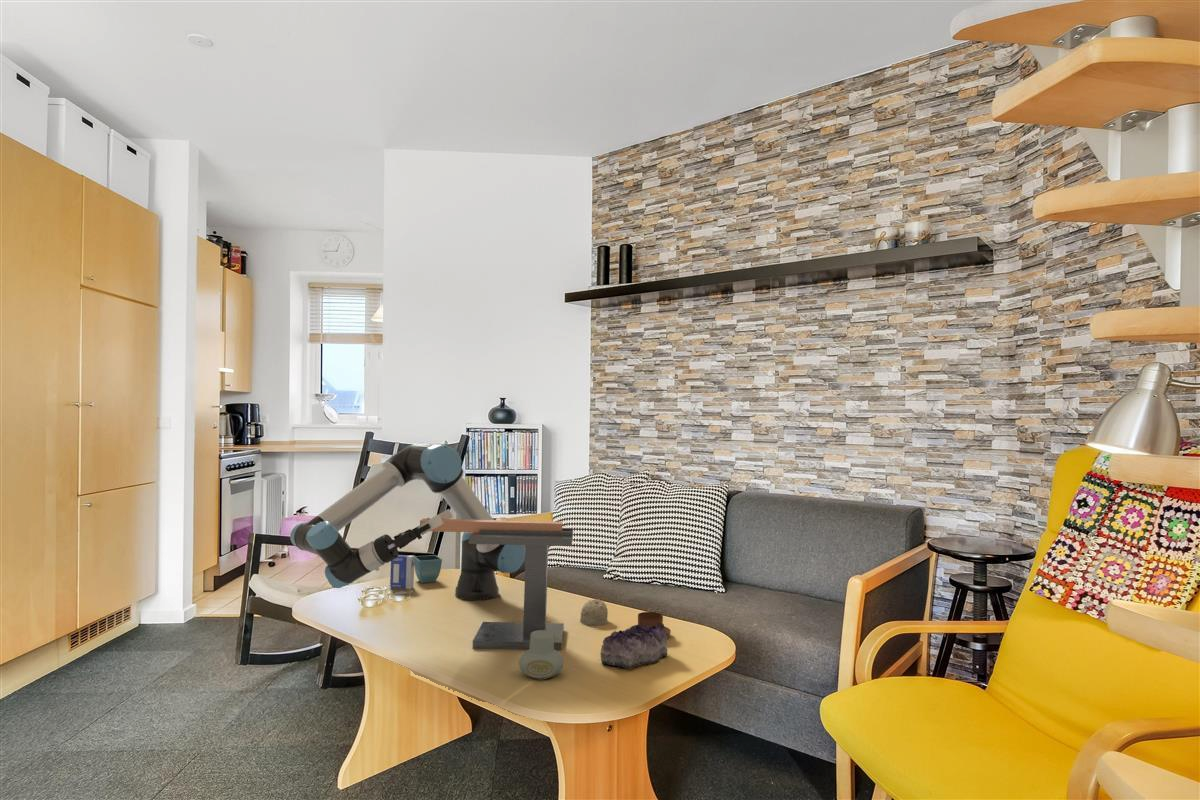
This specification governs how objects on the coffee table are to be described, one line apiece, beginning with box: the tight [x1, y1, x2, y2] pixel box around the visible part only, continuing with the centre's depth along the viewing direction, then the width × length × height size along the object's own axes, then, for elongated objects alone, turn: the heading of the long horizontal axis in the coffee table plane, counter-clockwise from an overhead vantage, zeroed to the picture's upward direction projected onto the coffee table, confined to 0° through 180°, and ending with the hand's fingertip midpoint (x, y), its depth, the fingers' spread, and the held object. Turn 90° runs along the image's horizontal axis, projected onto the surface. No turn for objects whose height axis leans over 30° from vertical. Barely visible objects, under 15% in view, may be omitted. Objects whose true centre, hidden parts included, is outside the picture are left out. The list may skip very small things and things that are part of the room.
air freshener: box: [518, 630, 565, 680], centre depth 165 cm, size 11×8×10 cm
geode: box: [600, 624, 668, 670], centre depth 178 cm, size 20×12×10 cm, turn 133°
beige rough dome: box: [579, 598, 609, 627], centre depth 211 cm, size 9×9×9 cm
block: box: [419, 517, 563, 533], centre depth 194 cm, size 40×4×3 cm, turn 91°
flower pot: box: [414, 554, 443, 584], centre depth 259 cm, size 9×9×9 cm
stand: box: [469, 527, 574, 651], centre depth 193 cm, size 28×18×31 cm, turn 91°
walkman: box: [389, 554, 416, 590], centre depth 248 cm, size 8×3×12 cm, turn 86°
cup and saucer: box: [631, 611, 671, 637], centre depth 198 cm, size 12×12×6 cm
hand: (446, 515), depth 193 cm, fingers open, 13 cm apart
